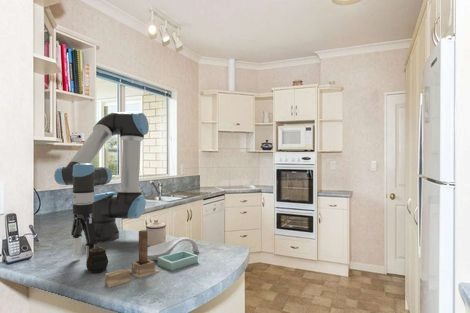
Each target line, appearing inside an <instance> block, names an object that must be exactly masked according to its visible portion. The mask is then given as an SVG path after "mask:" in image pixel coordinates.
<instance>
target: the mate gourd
mask: <svg viewBox="0 0 470 313" xmlns="http://www.w3.org/2000/svg"><path fill="white" fill-rule="evenodd" d="M106 252H107V250H106V248H105V247H102V246H100V247H99V246H97V247H94V248H92V249H90V250H89V256H88V259H87V262H86V261H85V265H86V269H87V272H89V273H91V274H99V273H102V272H104V271H105V270H106V269H107V268H108V264H109V258H108V256H107V253H106Z"/></svg>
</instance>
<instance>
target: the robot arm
mask: <svg viewBox="0 0 470 313" xmlns="http://www.w3.org/2000/svg"><path fill="white" fill-rule="evenodd" d="M149 127H150V125H149V121H148V118H147V116H146V115H145V113H143V112H141V111H120V112H119V111H114V112H111V113H109V114H106V115H105V116H103V117H102V118H101V119H100V120H98V121H97V122H96V124H95V125H94V126H93V128H92V132H91V134H90V135H88V137H87V139H86V140H85V141H84V143H83V144H82V145H81V147H80V148H79V149H78V150H77V151H76V152H75V154H74V155H73V157H72V158H71V160H70V161H69V162H68V163H67V165H66V166H61V167H58V168H57V169H56V170H55V171H54V176H53V178H54V181H55V182H56V184H58V185H63V186H72V195H71V199H72V203H73V204H72V214H73V222H72V228H71V233H70V235H71V236H72V238H73V248H72V249H73V255H74V256H75V255H79V254H80V255H81V254H82V237H83V235H84V237H85V240H86V243H85V263H86V262H87V259H88V256H89V250H90V249H92V248H95V245H97V244H98V243H105V242H110V241H114V240H117V239H119V238H120V230H119V229H118V225H117V222H116V221H117V219H128V220H133V219H135V220H136V219H139V218H140V217H141V216H142V215H143V213H144V211H145V209H146V204H147V200H146V197H145V196H144V195H143V193H142V190H141V189H140V187H139V185H140V184H139V183H140V167H141V166H140V162H141V144H142V143H141V142H142V141H143V140H144V139H145V135H147V134H149V130H150V128H149ZM113 136H119V137H120V140H122V153H121V154H122V156H121V158H122V159H121V172H120V173H121V175H120V176H121V178H120V188H119V189H118V190H117V192H115V191H107V192H100V193H95V187H96V186H97V187H98V186H105V185H108V184H110V182H111V181H112V178H113V173H112V171H111V169H109V168H108V167H103V166H101V167H95V165H94V164H93V163H92V162H93V161H94V159H95V158H96V156H97V155H98V154H99V152H100V151H101V150H102V149H103V146H104V145H105V144H106V142H107V141H109V140H110V139H112V137H113ZM82 232H83V233H84V234H83V235H82Z"/></svg>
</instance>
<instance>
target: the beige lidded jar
mask: <svg viewBox="0 0 470 313" xmlns="http://www.w3.org/2000/svg"><path fill="white" fill-rule="evenodd" d="M166 227H167V225H166V223H164V222H161V221H159V218H155V219H153V221H151V222H150V223H147V224H146V226H145V228H146V230H147V231H148V247H150V246H154V245H158V244H161V243H164V242H166Z"/></svg>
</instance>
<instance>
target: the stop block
mask: <svg viewBox="0 0 470 313" xmlns="http://www.w3.org/2000/svg"><path fill="white" fill-rule="evenodd" d="M130 270H131V269H129V268H126V267H125V268H121V269H117V270H115V271H110V272H106V273H104V286H106V287H108V288H112V287H115V286H118V285H122V284H125V283H127V282H131V274H130Z"/></svg>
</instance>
